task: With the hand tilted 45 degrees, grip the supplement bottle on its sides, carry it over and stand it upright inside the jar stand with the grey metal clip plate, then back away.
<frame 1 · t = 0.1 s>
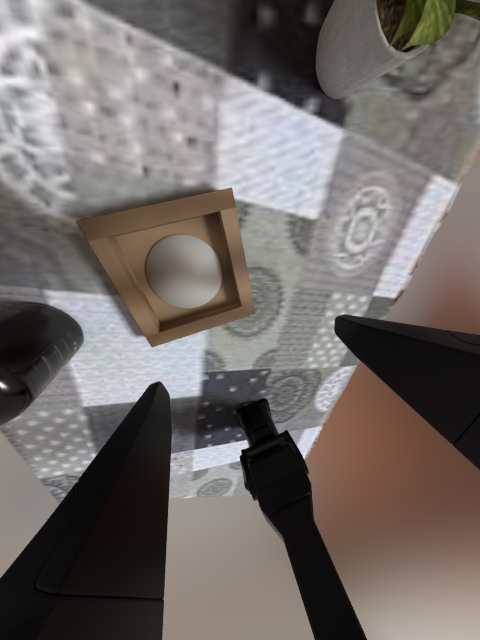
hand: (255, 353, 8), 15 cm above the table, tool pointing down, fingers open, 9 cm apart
holder: (186, 273, 20), on the table
house plant: (336, 81, 16), on the table
supplement bottle: (48, 330, 19), on the table
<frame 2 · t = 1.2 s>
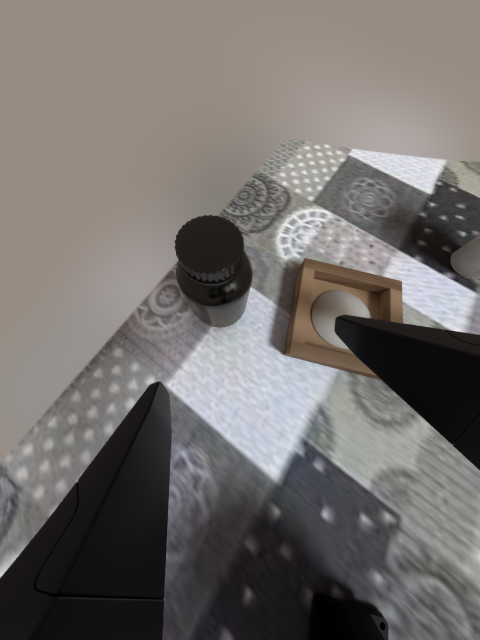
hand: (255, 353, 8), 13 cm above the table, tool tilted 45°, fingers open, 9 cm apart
holder: (338, 319, 23), on the table
house plant: (464, 272, 26), on the table
supplement bottle: (221, 305, 23), on the table
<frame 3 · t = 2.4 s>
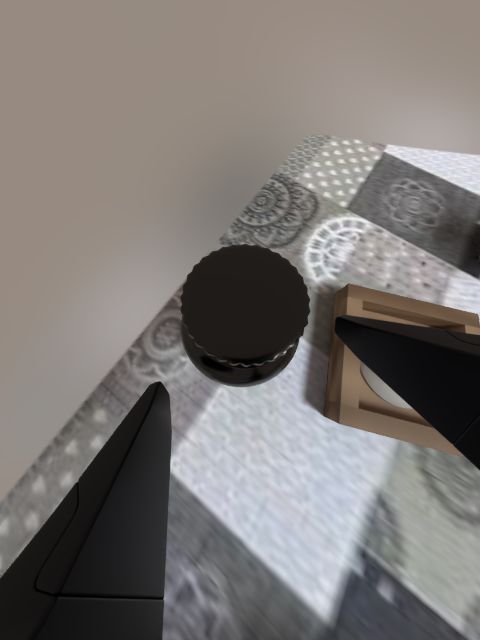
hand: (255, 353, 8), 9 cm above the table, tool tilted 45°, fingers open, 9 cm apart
holder: (392, 364, 18), on the table
supplement bottle: (237, 344, 18), on the table
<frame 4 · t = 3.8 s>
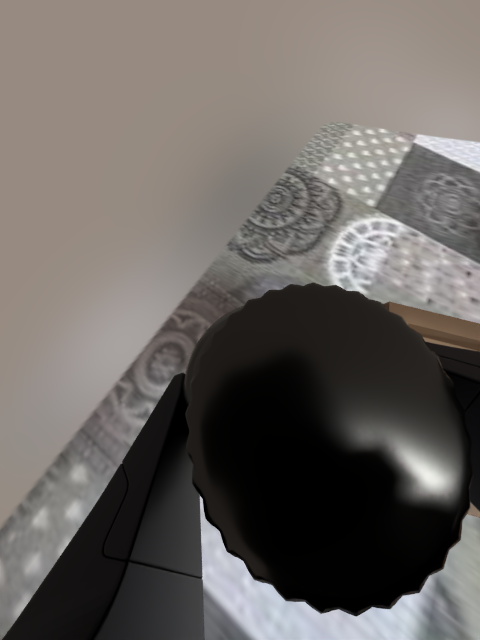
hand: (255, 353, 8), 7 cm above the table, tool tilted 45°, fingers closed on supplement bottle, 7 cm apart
holder: (441, 400, 14), on the table
supplement bottle: (251, 376, 14), on the table, touching gripper
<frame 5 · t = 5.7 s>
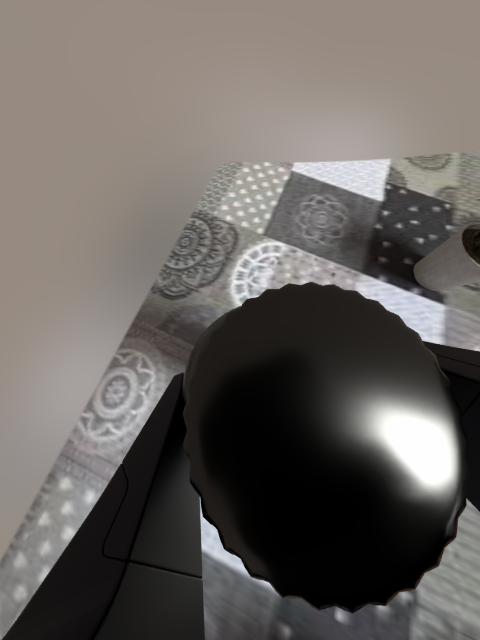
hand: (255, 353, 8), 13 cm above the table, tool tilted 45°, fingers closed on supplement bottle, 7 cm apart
house plant: (430, 284, 25), on the table
supplement bottle: (250, 375, 14), point 6 cm above the table, touching gripper
when the fingers open (8 cm above the table, at t = 8.0 s): supplement bottle stays where it is, resting on holder.
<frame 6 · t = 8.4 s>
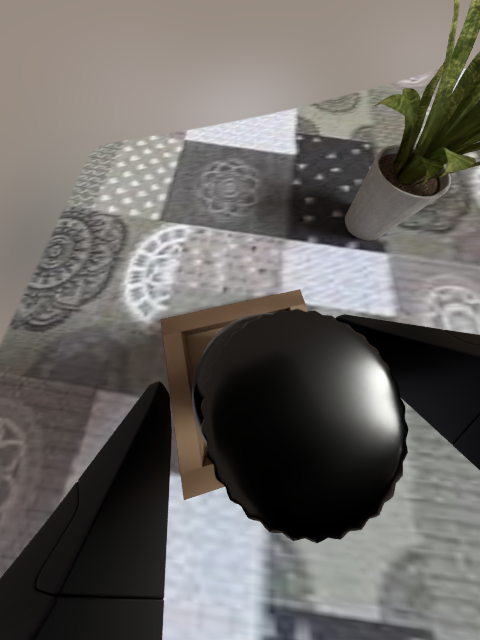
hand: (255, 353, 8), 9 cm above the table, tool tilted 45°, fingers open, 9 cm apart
holder: (249, 375, 16), on the table
house plant: (366, 233, 22), on the table
supplement bottle: (250, 377, 16), point 1 cm above the table, touching holder
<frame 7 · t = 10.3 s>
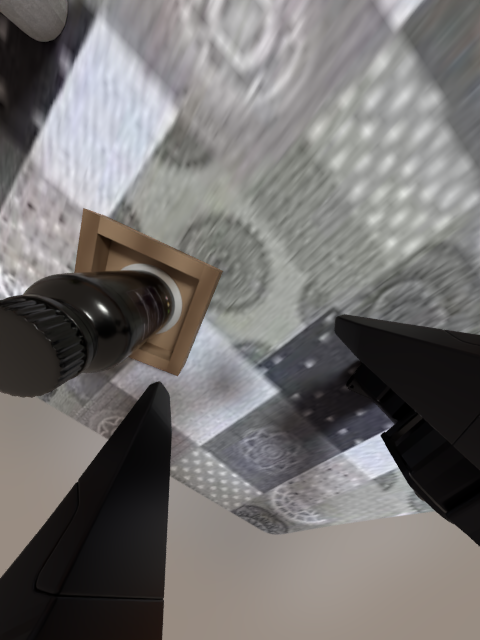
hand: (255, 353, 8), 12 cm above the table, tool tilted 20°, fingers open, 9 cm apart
holder: (149, 299, 20), on the table
house plant: (53, 9, 13), on the table
supplement bottle: (148, 301, 19), point 1 cm above the table, touching holder
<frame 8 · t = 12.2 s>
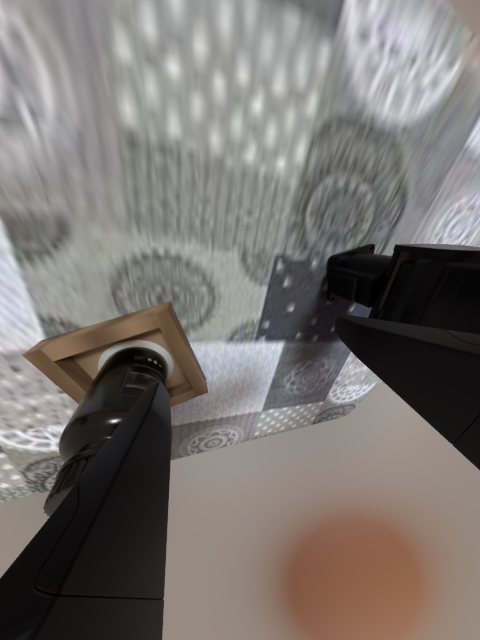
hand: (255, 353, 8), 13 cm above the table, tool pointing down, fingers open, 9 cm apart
holder: (139, 363, 21), on the table
supplement bottle: (139, 366, 21), point 1 cm above the table, touching holder
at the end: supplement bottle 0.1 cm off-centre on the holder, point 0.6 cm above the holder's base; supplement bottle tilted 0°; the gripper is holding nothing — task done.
